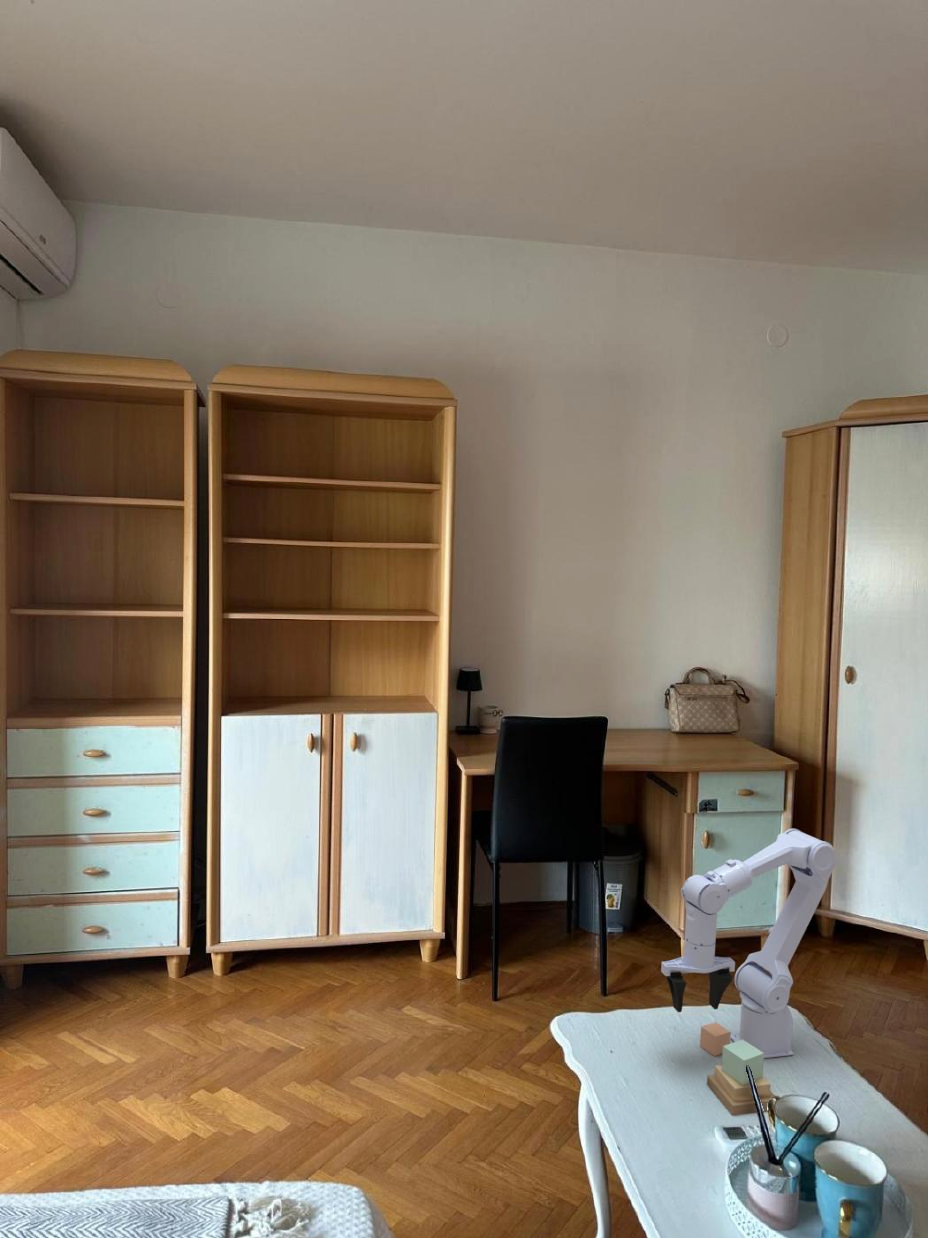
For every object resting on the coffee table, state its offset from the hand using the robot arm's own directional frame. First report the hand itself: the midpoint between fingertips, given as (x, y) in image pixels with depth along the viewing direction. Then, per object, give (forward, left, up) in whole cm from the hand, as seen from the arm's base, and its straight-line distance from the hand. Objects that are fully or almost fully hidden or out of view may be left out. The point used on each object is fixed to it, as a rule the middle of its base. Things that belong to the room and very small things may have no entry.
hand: (695, 1008), depth 166 cm
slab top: (-3, +12, -9) cm, 15 cm away
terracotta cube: (-6, -3, -11) cm, 13 cm away
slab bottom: (-3, +12, -11) cm, 17 cm away
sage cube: (-3, +12, -6) cm, 14 cm away
